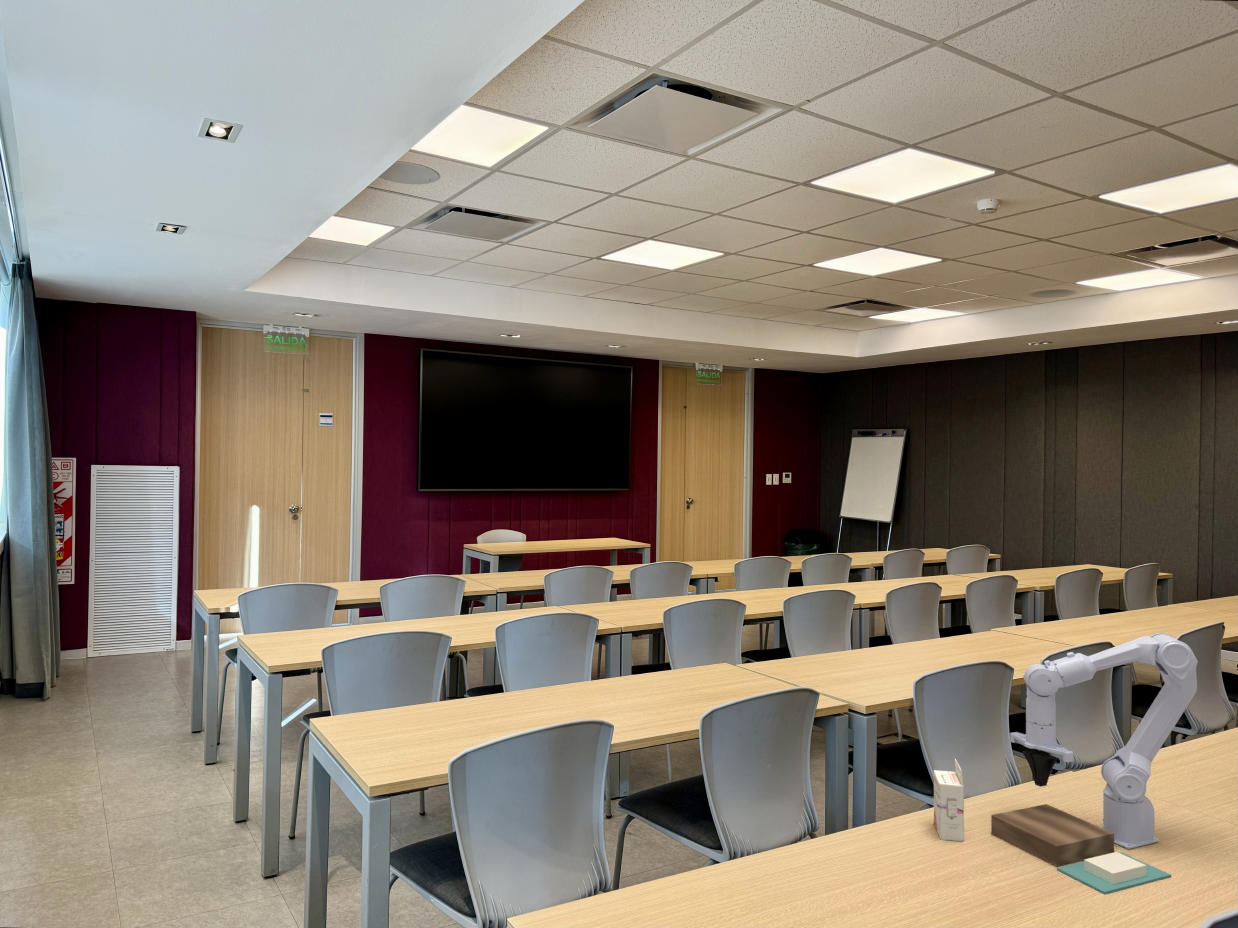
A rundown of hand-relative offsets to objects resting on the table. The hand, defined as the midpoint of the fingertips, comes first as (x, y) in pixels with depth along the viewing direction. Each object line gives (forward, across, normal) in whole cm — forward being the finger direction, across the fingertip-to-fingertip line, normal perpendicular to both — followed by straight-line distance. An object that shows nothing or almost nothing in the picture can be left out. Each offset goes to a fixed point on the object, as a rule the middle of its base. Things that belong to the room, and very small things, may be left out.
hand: (1040, 784), depth 179 cm
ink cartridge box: (+10, -6, -20) cm, 23 cm away
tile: (+8, +20, -4) cm, 22 cm away
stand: (+9, +6, -4) cm, 12 cm away
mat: (+9, +20, -4) cm, 22 cm away
